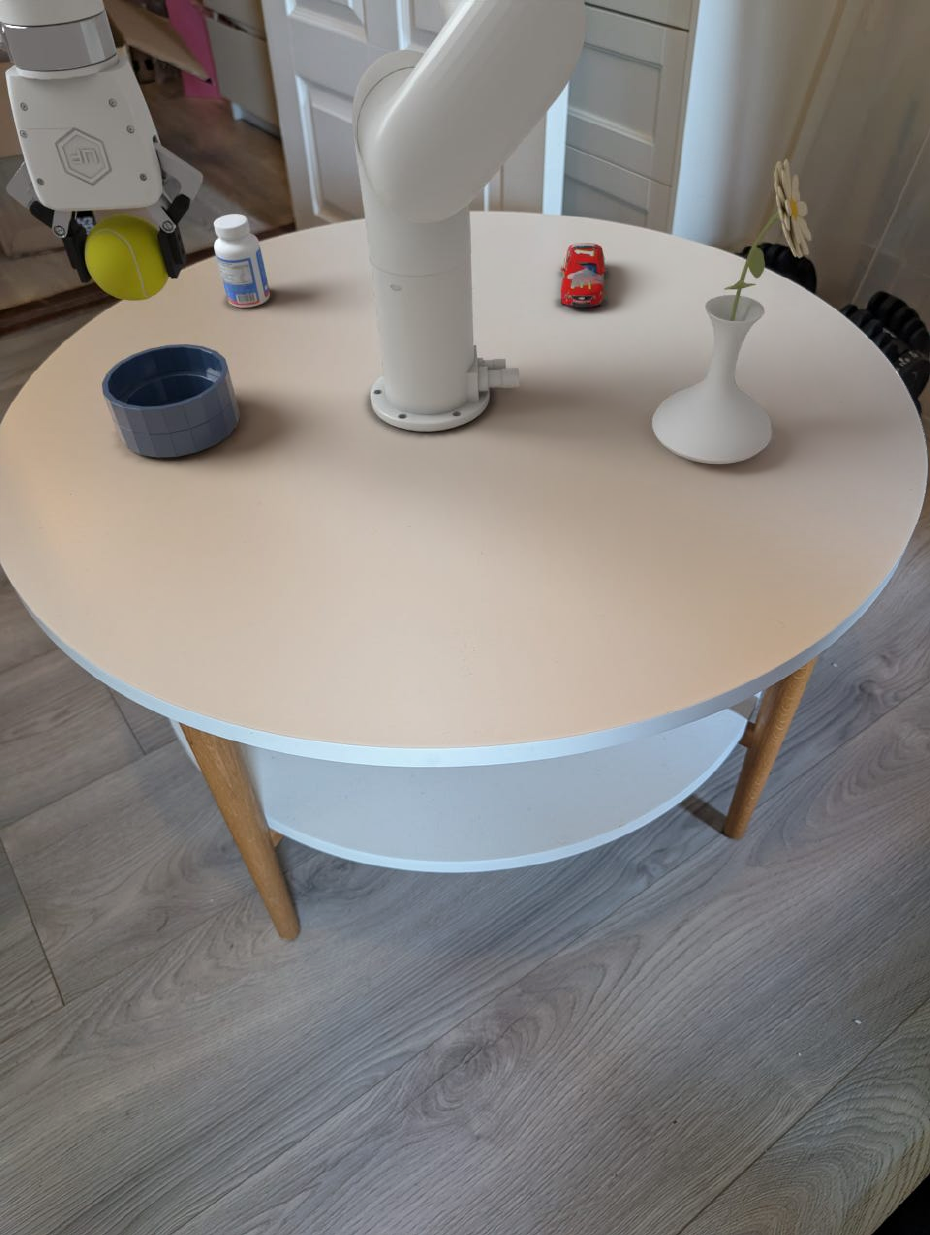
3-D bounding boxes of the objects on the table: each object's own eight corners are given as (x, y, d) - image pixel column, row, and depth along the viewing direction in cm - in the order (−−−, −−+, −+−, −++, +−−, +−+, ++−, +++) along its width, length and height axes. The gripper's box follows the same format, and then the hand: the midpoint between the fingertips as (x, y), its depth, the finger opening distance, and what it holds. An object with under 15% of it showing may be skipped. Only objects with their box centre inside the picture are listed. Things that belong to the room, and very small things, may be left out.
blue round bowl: (248, 392, 95) (235, 341, 91) (230, 458, 87) (215, 406, 82) (136, 397, 95) (119, 346, 91) (108, 464, 87) (87, 412, 82)
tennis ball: (155, 318, 77) (131, 238, 72) (85, 310, 78) (57, 231, 73) (192, 282, 81) (172, 205, 76) (126, 275, 83) (101, 199, 78)
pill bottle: (249, 285, 113) (232, 207, 106) (279, 295, 111) (264, 217, 104) (218, 302, 110) (198, 223, 103) (248, 313, 108) (230, 233, 101)
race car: (602, 314, 105) (605, 282, 102) (557, 312, 105) (558, 280, 102) (606, 264, 113) (609, 233, 111) (565, 263, 114) (566, 232, 111)
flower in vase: (728, 491, 80) (793, 213, 62) (626, 444, 86) (659, 177, 68) (797, 428, 87) (874, 160, 69) (698, 389, 92) (745, 131, 74)
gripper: (-74, 62, 63) (23, 298, 76) (167, 52, 63) (223, 289, 76) (-37, 35, 68) (49, 260, 81) (186, 25, 68) (236, 251, 81)
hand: (133, 272), depth 78 cm, fingers closed on tennis ball, 7 cm apart
